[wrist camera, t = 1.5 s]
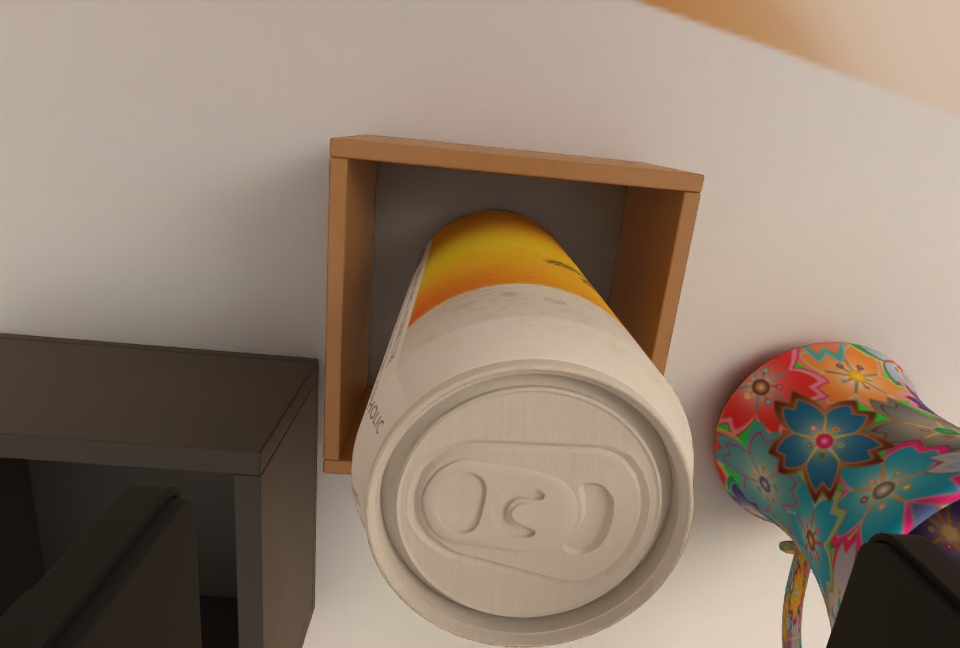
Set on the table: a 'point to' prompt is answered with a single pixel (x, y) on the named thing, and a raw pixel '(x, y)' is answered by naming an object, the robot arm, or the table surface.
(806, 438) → the mug
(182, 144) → the table surface
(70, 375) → the dark grey open box
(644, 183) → the wooden square frame
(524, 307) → the beer can
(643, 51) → the table surface
